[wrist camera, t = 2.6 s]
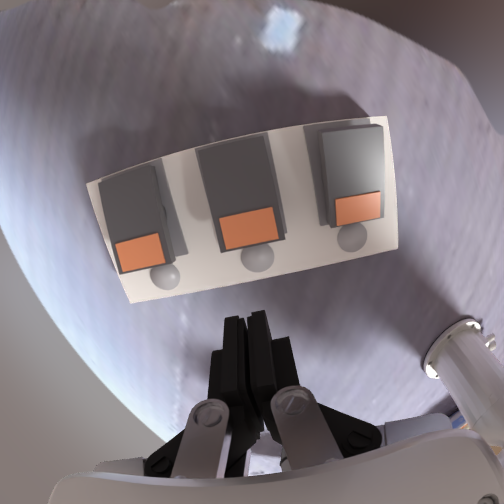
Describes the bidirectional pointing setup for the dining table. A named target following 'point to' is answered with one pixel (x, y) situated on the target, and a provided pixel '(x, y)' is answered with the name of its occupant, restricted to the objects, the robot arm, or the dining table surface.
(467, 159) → the dining table surface
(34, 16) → the dining table surface
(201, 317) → the dining table surface
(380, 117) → the rocker switch panel
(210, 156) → the middle rocker
